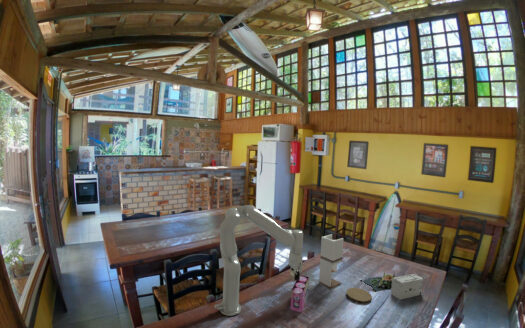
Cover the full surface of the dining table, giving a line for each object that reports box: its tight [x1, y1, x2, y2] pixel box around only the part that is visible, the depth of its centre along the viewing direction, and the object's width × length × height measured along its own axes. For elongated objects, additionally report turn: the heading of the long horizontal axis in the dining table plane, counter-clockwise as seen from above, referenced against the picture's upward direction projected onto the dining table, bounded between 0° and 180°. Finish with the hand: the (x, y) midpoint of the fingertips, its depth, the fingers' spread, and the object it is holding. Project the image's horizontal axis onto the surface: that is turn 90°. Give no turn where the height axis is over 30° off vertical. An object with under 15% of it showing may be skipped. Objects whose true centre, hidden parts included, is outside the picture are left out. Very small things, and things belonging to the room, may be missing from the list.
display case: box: [318, 233, 344, 290], centre depth 195 cm, size 11×11×35 cm
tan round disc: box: [345, 287, 373, 305], centre depth 180 cm, size 16×16×3 cm
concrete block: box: [390, 271, 424, 300], centre depth 184 cm, size 21×8×20 cm, turn 111°
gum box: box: [289, 274, 310, 313], centre depth 172 cm, size 22×7×13 cm, turn 160°
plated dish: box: [363, 272, 396, 293], centre depth 200 cm, size 35×28×7 cm
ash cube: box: [289, 269, 298, 281], centre depth 171 cm, size 4×4×4 cm
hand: (295, 277), depth 171 cm, fingers closed on ash cube, 4 cm apart
